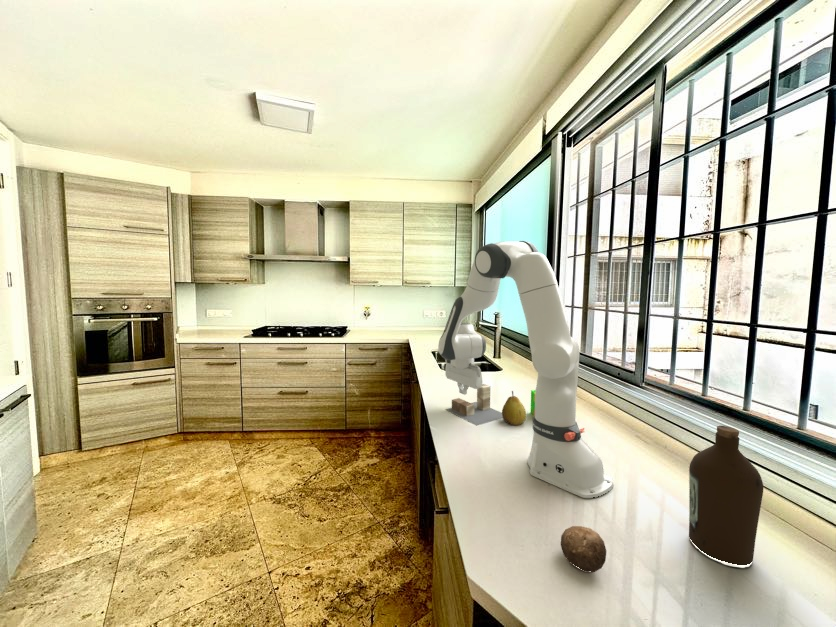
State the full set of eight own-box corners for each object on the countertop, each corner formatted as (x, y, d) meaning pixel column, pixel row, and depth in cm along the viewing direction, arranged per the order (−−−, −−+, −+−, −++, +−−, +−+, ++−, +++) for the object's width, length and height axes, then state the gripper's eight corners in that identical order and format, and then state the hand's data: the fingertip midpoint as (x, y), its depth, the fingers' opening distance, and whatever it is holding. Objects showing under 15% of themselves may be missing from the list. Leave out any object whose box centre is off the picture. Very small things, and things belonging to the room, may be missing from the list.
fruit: (521, 429, 122) (522, 398, 121) (498, 423, 127) (499, 393, 126) (529, 422, 128) (529, 392, 128) (506, 416, 134) (507, 388, 133)
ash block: (490, 408, 141) (490, 386, 141) (483, 410, 139) (483, 387, 139) (483, 406, 145) (483, 384, 144) (476, 407, 143) (477, 385, 142)
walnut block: (474, 404, 135) (458, 398, 143) (467, 406, 133) (451, 399, 141) (474, 414, 135) (458, 406, 144) (466, 416, 133) (451, 408, 142)
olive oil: (753, 547, 66) (763, 427, 64) (760, 583, 58) (772, 447, 56) (685, 522, 73) (692, 414, 71) (683, 551, 65) (691, 429, 63)
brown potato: (597, 528, 67) (589, 512, 64) (620, 574, 59) (611, 558, 57) (560, 541, 68) (550, 526, 66) (578, 586, 61) (568, 571, 58)
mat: (509, 416, 134) (509, 415, 133) (476, 426, 124) (476, 425, 124) (476, 402, 150) (476, 401, 150) (444, 410, 141) (444, 409, 141)
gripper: (486, 365, 130) (485, 399, 131) (454, 356, 147) (453, 386, 148) (474, 367, 126) (474, 402, 127) (443, 358, 144) (442, 388, 145)
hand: (462, 393), depth 138 cm, fingers closed
